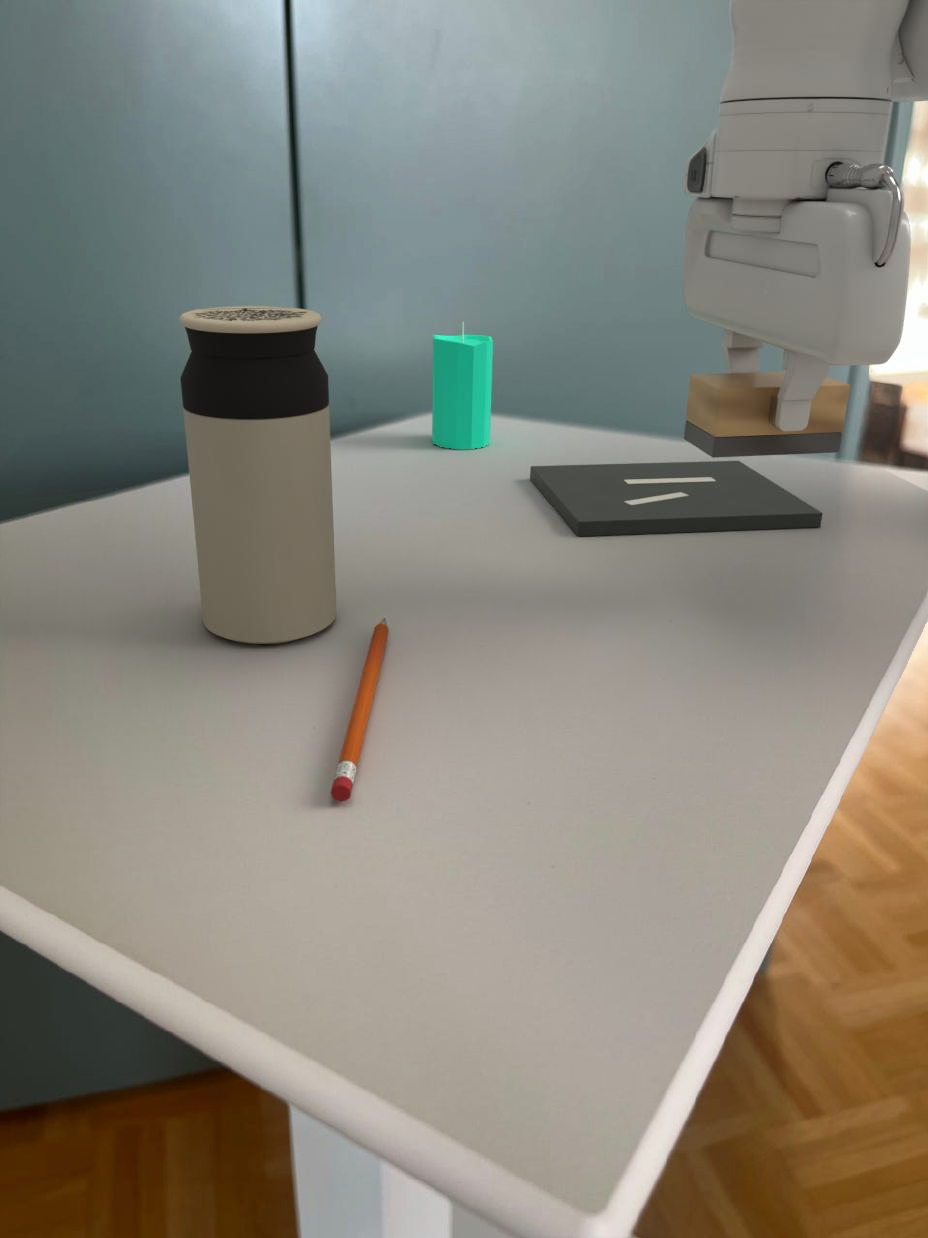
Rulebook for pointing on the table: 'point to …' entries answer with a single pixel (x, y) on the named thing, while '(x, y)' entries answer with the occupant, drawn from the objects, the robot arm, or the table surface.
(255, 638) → the travel mug
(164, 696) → the table surface
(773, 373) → the eraser
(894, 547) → the table surface
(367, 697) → the pencil
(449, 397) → the candle
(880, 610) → the table surface
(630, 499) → the slate board
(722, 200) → the robot arm
